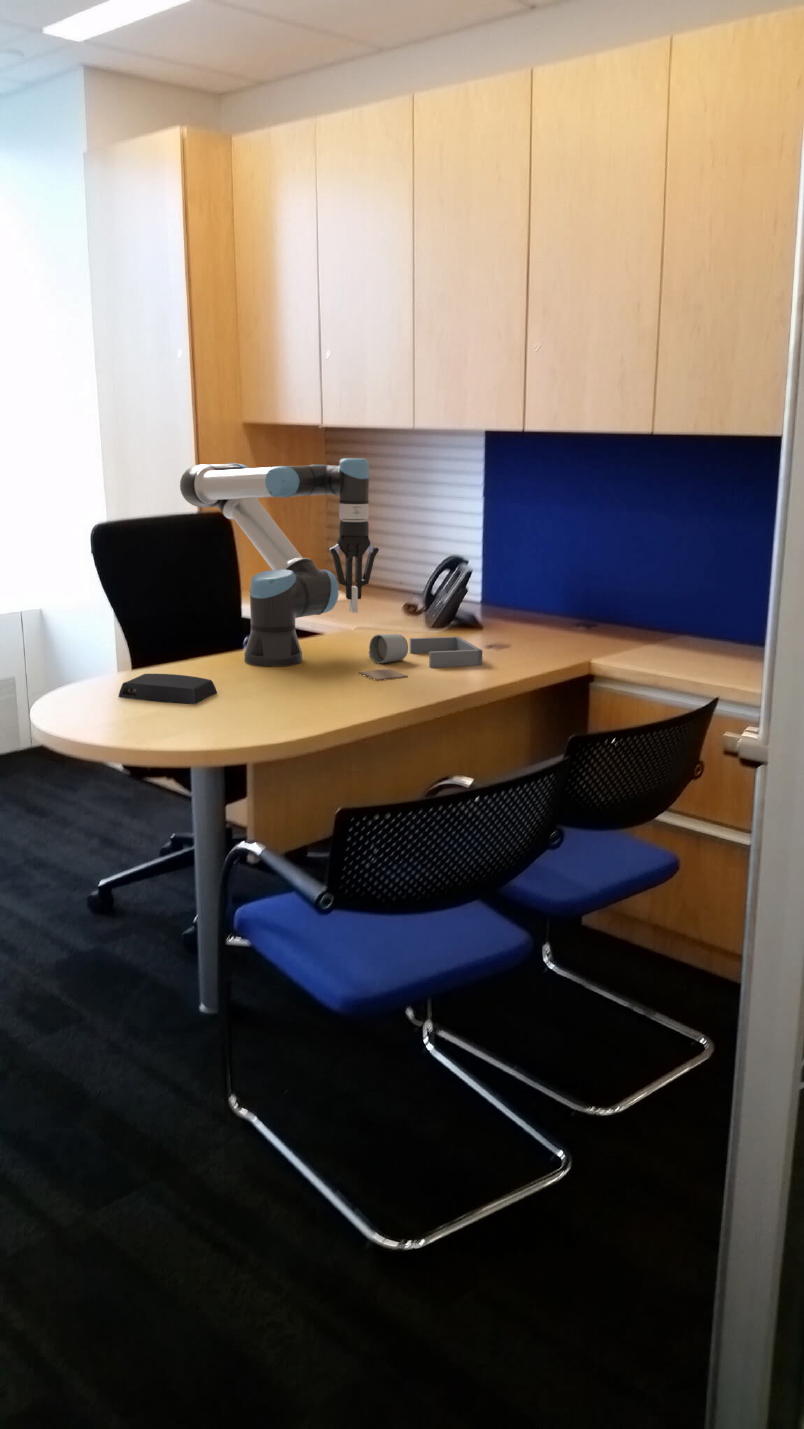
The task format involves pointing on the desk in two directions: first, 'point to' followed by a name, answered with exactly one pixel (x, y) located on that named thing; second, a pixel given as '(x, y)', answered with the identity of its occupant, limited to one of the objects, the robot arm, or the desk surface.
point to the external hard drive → (168, 688)
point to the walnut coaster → (383, 674)
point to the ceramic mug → (388, 648)
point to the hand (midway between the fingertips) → (353, 611)
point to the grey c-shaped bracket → (447, 651)
